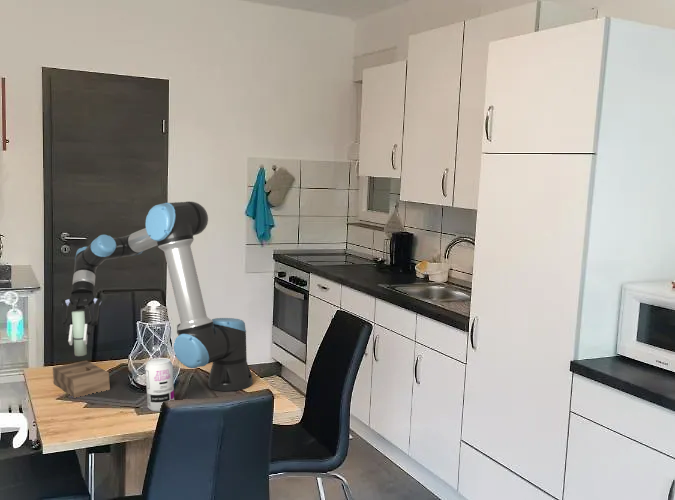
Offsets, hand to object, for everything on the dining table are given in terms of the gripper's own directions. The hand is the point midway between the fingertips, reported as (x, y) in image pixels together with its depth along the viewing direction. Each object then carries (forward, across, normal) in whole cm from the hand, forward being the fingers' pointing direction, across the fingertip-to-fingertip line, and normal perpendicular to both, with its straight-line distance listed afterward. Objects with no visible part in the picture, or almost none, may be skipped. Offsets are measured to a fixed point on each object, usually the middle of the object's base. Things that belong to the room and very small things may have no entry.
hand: (77, 342), depth 229 cm
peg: (+1, 0, -6) cm, 6 cm away
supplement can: (+28, -28, +5) cm, 40 cm away
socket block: (+9, 0, -15) cm, 17 cm away
